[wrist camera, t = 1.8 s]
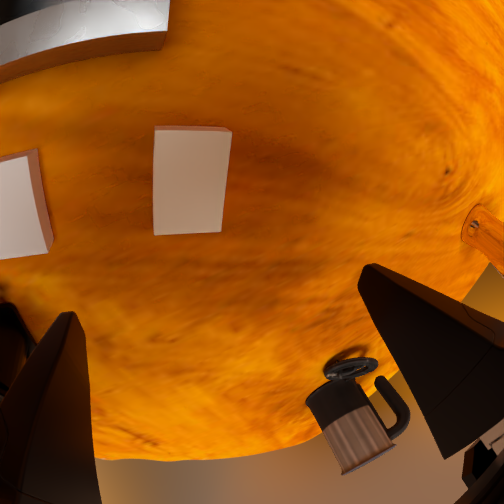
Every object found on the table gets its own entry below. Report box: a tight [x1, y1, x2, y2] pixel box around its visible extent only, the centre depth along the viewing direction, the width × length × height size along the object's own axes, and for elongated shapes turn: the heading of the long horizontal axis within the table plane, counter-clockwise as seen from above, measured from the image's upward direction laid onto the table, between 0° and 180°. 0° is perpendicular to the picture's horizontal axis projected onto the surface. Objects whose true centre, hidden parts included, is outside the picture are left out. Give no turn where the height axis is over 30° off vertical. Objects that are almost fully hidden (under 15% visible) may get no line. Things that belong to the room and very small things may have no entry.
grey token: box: [0, 149, 54, 260], centre depth 12 cm, size 6×4×2 cm, turn 174°
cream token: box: [153, 126, 232, 235], centre depth 16 cm, size 6×4×2 cm, turn 171°
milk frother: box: [306, 357, 410, 475], centre depth 34 cm, size 14×16×15 cm
